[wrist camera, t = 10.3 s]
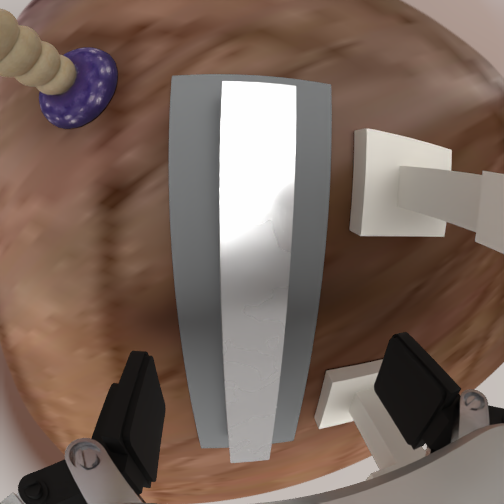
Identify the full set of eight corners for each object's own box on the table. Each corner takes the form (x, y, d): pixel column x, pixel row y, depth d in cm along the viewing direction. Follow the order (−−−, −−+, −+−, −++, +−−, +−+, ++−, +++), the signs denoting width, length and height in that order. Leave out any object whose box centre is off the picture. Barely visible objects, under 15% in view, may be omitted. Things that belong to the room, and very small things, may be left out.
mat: (326, 87, 11) (331, 84, 10) (291, 434, 18) (293, 440, 17) (173, 79, 10) (172, 75, 10) (201, 442, 17) (201, 448, 16)
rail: (279, 101, 10) (296, 85, 8) (263, 432, 16) (269, 459, 14) (220, 98, 10) (222, 81, 8) (227, 434, 16) (230, 463, 14)
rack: (437, 149, 13) (612, 177, 2) (381, 400, 18) (447, 503, 7) (354, 130, 12) (596, 121, 1) (314, 417, 17) (366, 545, 7)
